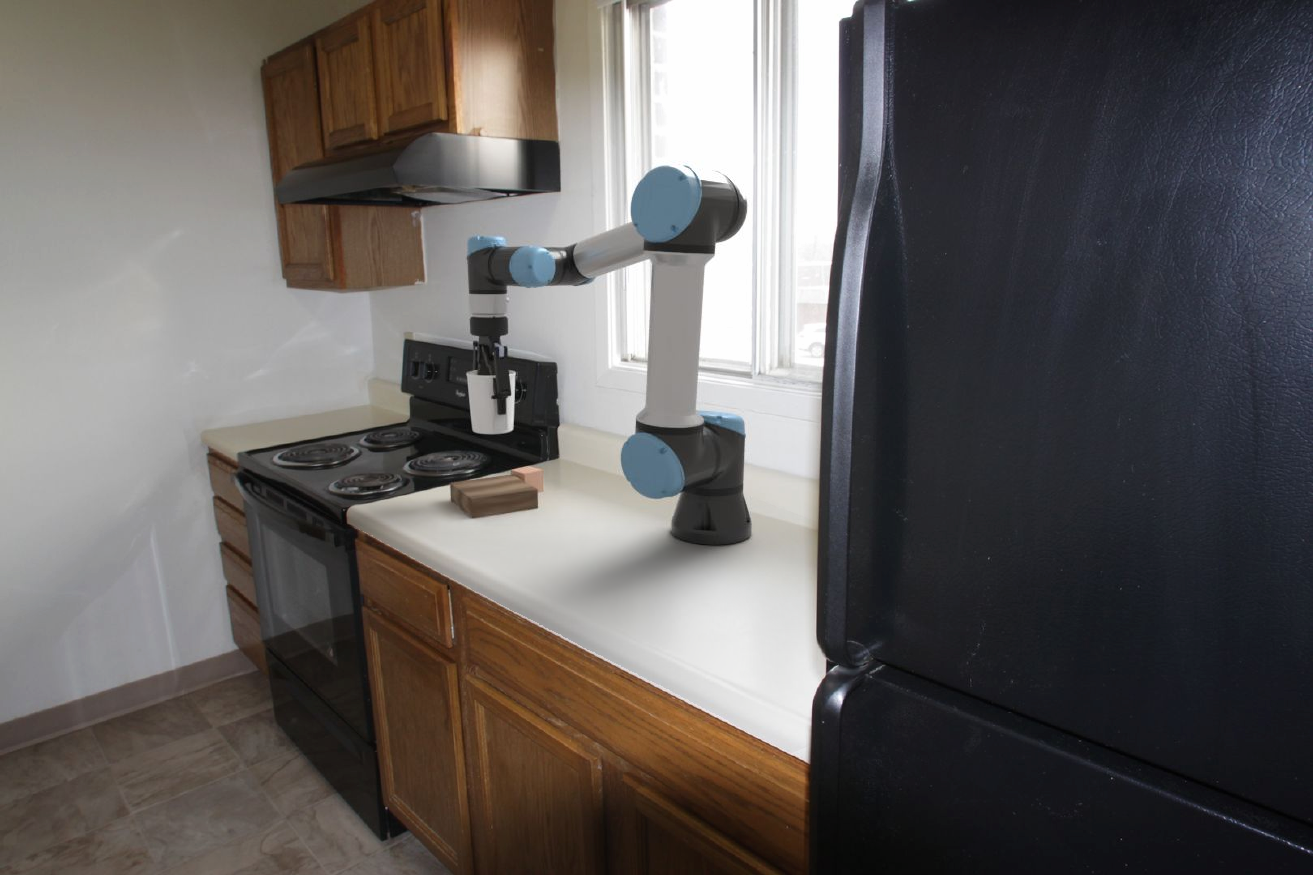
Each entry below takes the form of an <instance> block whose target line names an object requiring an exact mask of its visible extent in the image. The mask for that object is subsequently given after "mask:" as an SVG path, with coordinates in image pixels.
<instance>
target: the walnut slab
mask: <svg viewBox="0 0 1313 875" xmlns="http://www.w3.org/2000/svg"><path fill="white" fill-rule="evenodd" d="M449 490H450V493H449V494H450V501H451V503H453V504H454V505H455V506H457V507H458V508H459V509H460V510H461V511H463V512H464V513H465V514H467V515H468V516H469V517H470V518H471V519H475V518H477V519H478V518H481V517H482V518H483V517H489V516H490V517H491V516H496V515H502V514H508V513H514V512H520V511H527V510H528V511H529V510H532V509H534V510H535V509H538V508H539V493H538V489H536V488H535V487H533V486H531V485H530V484H528V483H526V482H524V481H523V480H521V479H519V478H518V477H516V476H514V475H513V474H512V475H511V474H506V475H499V476H498V475H497V476H491V477H490V476H489V477H483V478H478V479H469V480H468V479H467V480H462V481H461V480H459V481H454V482H449Z"/></svg>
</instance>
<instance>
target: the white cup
mask: <svg viewBox="0 0 1313 875" xmlns="http://www.w3.org/2000/svg"><path fill="white" fill-rule="evenodd" d="M516 373H517V372H516V371H514V370H510V369H509V377H510V386H511V396H508V398H507V425H508V430H500V431H494V430H493V399H491V396H492V395H494V392H493V378H496V376H480V375H478V370H474V371H473V370H471V371H467V372H466V373H465V374H466V378H467V389H468V390H467V391H468V400H469V410H470V411H469V412H470V421H471V429H472V432H473V433H476V434H480V435H501V434H507V433H511V432H512V431H513V430H514V427H515V426H514V422H515V421H514V420H515V400H516V399H515V395H516V394H515V393H516V391H515V390H516Z"/></svg>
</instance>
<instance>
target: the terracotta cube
mask: <svg viewBox="0 0 1313 875" xmlns="http://www.w3.org/2000/svg"><path fill="white" fill-rule="evenodd" d="M512 474H513V475H514V476H516V477H518V478H519V479H521V480H523V481H524V482H526V483H528V484H530V485H531V486H533V487H535V488H536V489H538V494H539V493H543V492H544V469H541V468H538V467H534V466H531V465H528V466H523V467H517V468H514V469H510V475H512Z"/></svg>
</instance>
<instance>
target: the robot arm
mask: <svg viewBox="0 0 1313 875" xmlns="http://www.w3.org/2000/svg"><path fill="white" fill-rule="evenodd" d="M629 212H630V218H631V221H629V222H627V223H624V224H622V225H618V226H616V227H614V228H612V229H608V230H606V231H603V232H602V233H598V234H596V235H593V236H591V237H589V238H585V239H583V240H581V241H578V242H576V243H573V244H570V245H568V246H564V247H563V246H562V247H558V246H553V247H552V246H550V247H549V246H548V247H547V246H537V245H523V246H519V245H518V246H507V244H506V243H507V242H506V239H505V237H503V236H498V235H497V236H496V235H484V236H482V235H472V236H470V237H468V239H467V250H466V260H467V263H466V264H467V282H468V284H467V285H468V312H469V314H471V315H472V316H470V318H469V333H470V334H471V336H474V337H478V340H473V341H472V348H473V349H472V350H473V356H472V357H473V358H472V359H473V360H472V371H474V370H478V375H480V376H496V378H493V392H494V395H492V396H491V399H493V430H494V431H500V430H508V425H507V398H508V396H511V386H510V377H509V370H510V369H509V368H510V367H509V359H508V356H509V355H508V354H509V352H508V350H509V349H508V345H502V341H501V336H503V337H504V336H508V334H509V318H508V317H507V316H505V315H506V314H507V313H508V304H509V303H510V299H509V298H508V288H507V287H519V288H521V287H522V288H523V287H525V288H527V289H530V288H542V287H553V286H555V287H556V286H560V287H561V286H566V287H567V286H572V287H579V286H583V285H585V286H586V285H589V284H591V283H593V282H594V281H595V279H596V278H597V277H601V276H602V275H606V274H608V273H611V272H612V273H613V272H615V271H618V270H621V269H623V268H627V267H629V266H632V265H635V264H639V263H641V262H644V261H647V260H649V261H650V262H651V278H650V279H651V280H650V283H651V284H650V299H649V300H650V303H649V304H650V305H649V320H648V321H649V322H648V323H649V326H648V344H647V345H648V347H647V364H646V366H647V367H646V369H647V370H646V388H645V389H646V390H645V405H644V408H643V409H642V410H640V411H639V412H637V414H636V416H635V426H634V428H635V429H634V430H635V431H634V434H631V435H630V436H629V437H628V438H627V440H626V441H625V442H624V443H623V444H622V447H621V451H620V465H621V469H622V470H621V471H622V472H623V475H624V477H625V479H626V480H627V482H629V483H630V485H631V487H632V488H633V489H634V491H636V492H637V493H638V494H640V496H643V497H645V498H648V499H653V500H659V499H660V500H661V499H664V498H673V497H675V496H677V495H679V497H678V499H677V500H678V501H677V503H676V505H675V506H676V507H675V509H674V513H673V516H672V517H671V523H670V524H671V525H670V526H671V529H670V530H671V534H672V535H673V536H674V537H676V538H678V539H679V540H682V541H685V542H688V543H692V544H699V545H718V546H719V545H730V544H735V543H739V542H743V541H745V540H747V539H748V538H750V537H751V536H752V529H753V528H752V524H753V523H752V519H751V516H750V513H749V512H750V511H749V509H748V505H747V502H746V498H745V495H744V480H745V479H744V478H745V477H744V474H745V452H746V450H745V449H746V448H745V447H746V446H745V444H746V438H747V437H746V436H747V435H746V430H745V427H746V426H745V421H744V418H743V417H742V416H741V415H739V414H735V413H732V412H731V413H729V412H723V411H713V410H700V409H699V410H698V409H697V398H698V397H697V396H698V381H699V379H698V378H699V368H700V367H699V365H700V364H699V363H700V352H701V350H700V349H701V348H700V346H701V332H702V330H701V329H702V319H703V317H702V316H703V315H702V314H703V303H704V302H703V298H704V285H705V283H704V282H705V269H706V266H707V264H708V263H709V262H710V261H711V260H712V259H713V258H715V255H716V244H719V243H723V242H726V241H728V240H729V239H731V238H732V237H734V236H735V235H737V234H738V232H739V231H740V230H741V228H743V226H744V223H745V221H746V219H747V214H748V200H747V196H746V192H745V191H744V189H743V187H742V185H741V184H740V183H739V182H738V181H737V180H736V179H735V178H734V177H732V176H731V175H729V174H728V173H725V172H722V171H718V170H710V169H704V168H700V167H694V166H691V165H690V166H689V165H681V164H665V165H659V166H656V167H654V168H652V169H650V170H649V171H648V172H647V173H645V175H644V177H643V178H641V179H640V180H639V182H638V183H637V185H636V186H635V188H634V191H633V194H632V196H631V201H630V210H629Z"/></svg>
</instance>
